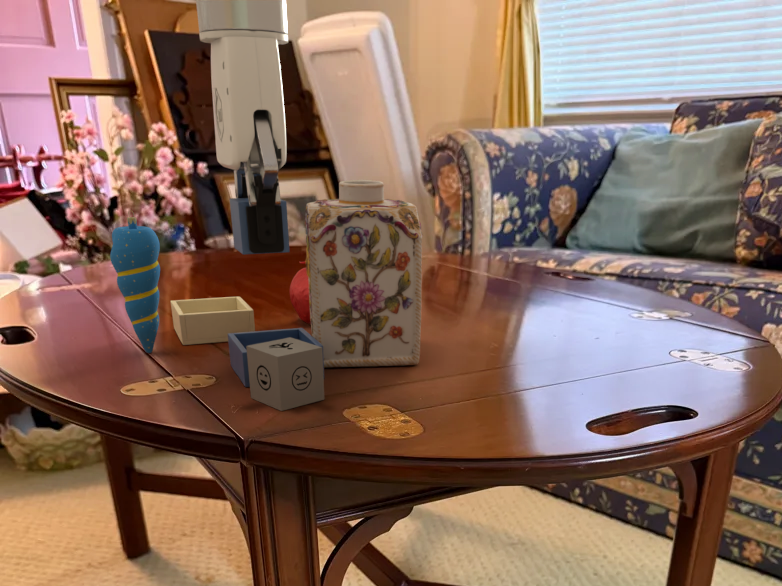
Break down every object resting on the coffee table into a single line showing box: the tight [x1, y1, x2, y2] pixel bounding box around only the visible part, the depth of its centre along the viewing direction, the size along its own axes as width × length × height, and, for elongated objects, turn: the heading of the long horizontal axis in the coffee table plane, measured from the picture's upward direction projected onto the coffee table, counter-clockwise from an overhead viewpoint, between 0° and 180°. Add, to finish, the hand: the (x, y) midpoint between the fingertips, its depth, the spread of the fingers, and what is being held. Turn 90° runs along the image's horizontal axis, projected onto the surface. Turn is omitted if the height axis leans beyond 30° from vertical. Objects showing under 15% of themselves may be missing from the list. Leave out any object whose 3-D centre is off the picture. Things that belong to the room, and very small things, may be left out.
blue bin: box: [227, 327, 325, 388], centre depth 80 cm, size 8×8×4 cm
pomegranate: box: [289, 260, 311, 326], centre depth 99 cm, size 10×10×9 cm
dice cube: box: [246, 337, 325, 412], centre depth 72 cm, size 5×5×5 cm
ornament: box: [109, 210, 161, 354], centre depth 83 cm, size 5×5×15 cm
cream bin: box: [170, 296, 256, 346], centre depth 94 cm, size 9×9×4 cm
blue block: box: [229, 197, 291, 255], centre depth 73 cm, size 4×4×4 cm
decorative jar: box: [304, 179, 424, 369], centre depth 83 cm, size 12×12×18 cm
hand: (261, 246), depth 74 cm, fingers closed on blue block, 4 cm apart
